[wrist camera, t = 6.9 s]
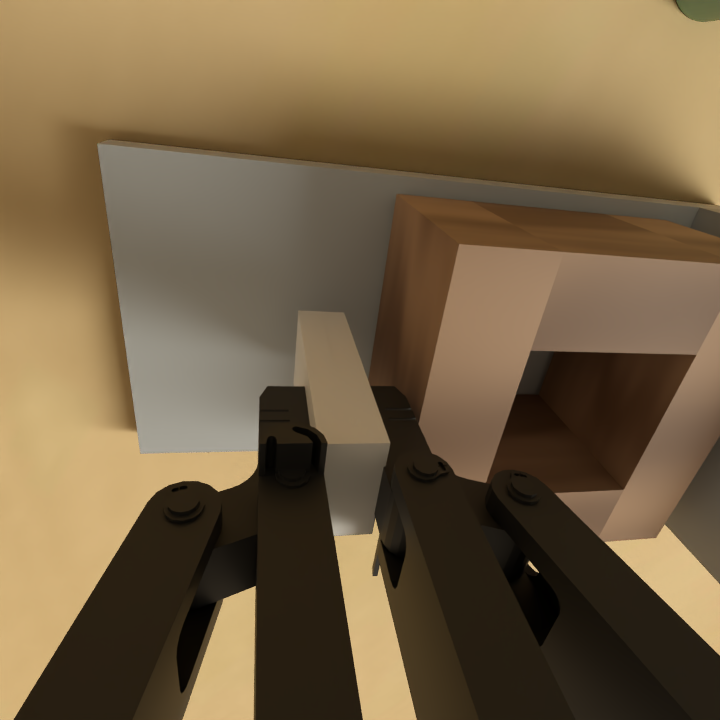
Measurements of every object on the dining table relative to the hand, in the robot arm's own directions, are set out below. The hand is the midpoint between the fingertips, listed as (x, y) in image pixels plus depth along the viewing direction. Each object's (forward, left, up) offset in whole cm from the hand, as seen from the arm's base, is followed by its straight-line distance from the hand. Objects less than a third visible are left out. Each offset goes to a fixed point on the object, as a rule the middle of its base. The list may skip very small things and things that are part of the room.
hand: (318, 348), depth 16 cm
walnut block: (0, +7, -1) cm, 7 cm away
